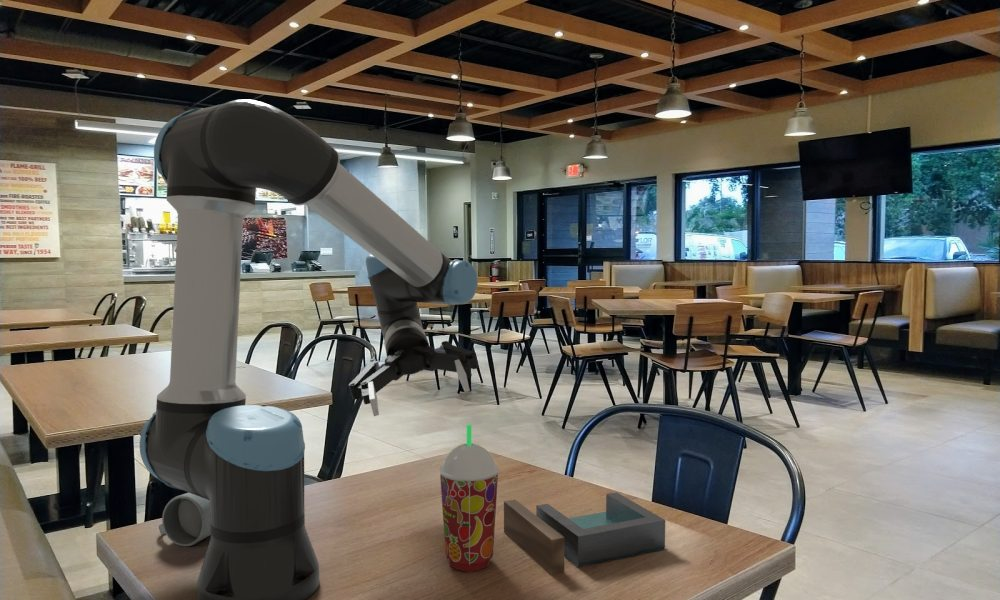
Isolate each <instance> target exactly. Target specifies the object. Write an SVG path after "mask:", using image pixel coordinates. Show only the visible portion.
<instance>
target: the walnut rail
mask: <svg viewBox="0 0 1000 600" xmlns="http://www.w3.org/2000/svg"><path fill="white" fill-rule="evenodd" d="M503 533H504V534H505V535H506V536H508V537H509V538H510V539H511V540H512V541H513V542H514V543H515V544H517V546H518V547H520V548H521V549H522V550H523V551H524V552H525V553H526V554H527V555H528V556H530V557H531V559H533V560H534V561H535V562H537V564H538V565H540V566H541V568H543V569H544V570H545V571H546V572H547V573H548V574H549V575H550V576H555V575H560V574H563V573H565V557H564V537H563V536H562V535H561V534H559V533H558V532H557V531H555V530H554V529H553V528H552V527H550V526H549V525H548V524H546V523H545V522H544V521H543V520H541V519H540V518H539V517H537V516H536V514H535V513H534V512H532V511H531V510H529V509H528V508H527V507H526V506H525V505H523V504H522V503H521V502H519V501H518V500H517V499H510V500H505V501H504V500H503Z"/></svg>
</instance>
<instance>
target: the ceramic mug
mask: <svg viewBox="0 0 1000 600" xmlns="http://www.w3.org/2000/svg"><path fill="white" fill-rule="evenodd" d="M161 518H162V519H161V522H162V523H161V524H159V525H158V529H159V533H160V535H161V536H164V535H166V537H167V538H168V539H169V540H170V542H172V543H173V544H176V545H177V546H180V547H191V546H194V545H195V544H197V543H199V542H201V541H202V540H205V539H206V538H208V537H210V536H211V531H210V501H209V500H208V499H205V498H202V497H199V496H197V495H194V494H191V493H189V492H187V493H186V492H185V493H183V494H180V495H177V496H175V497H173V498H171V499H170V500H169V501H168V503H167V504H166V505H165V507H164V509H163V511H162V517H161Z"/></svg>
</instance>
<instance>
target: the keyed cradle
mask: <svg viewBox="0 0 1000 600" xmlns="http://www.w3.org/2000/svg"><path fill="white" fill-rule="evenodd" d="M605 498H606V499H605V502H606V504H605V505H606V506H605V508H606V509H605V511H602V512H597V513H596V512H595V513H590V514H586V515H580V516H579V515H578V516H574V517H568V516H565V514H563V513H561V512H560V511H559V510H557V509H556V508H554V507H553V506H551V504H549V503H543V504H537V505H536V506H535V507H536V509H535V511H536V514H535V515H536V516H537V517H539V518H540V519H541V520H543V521H544V522H545V523H546V524H548V525H549V526H550V527H552V528H553V529H554V530H555V531H557V532H558V533H559V534H561V535H562V536H563V537H564V558H565V559H567V560H568V561H569V562H570V563H571V564H572V565H574V566H575V567H576V568H583V567H587V566H593V565H597V564H602V563H607V562H611V561H616V560H620V559H626V558H630V557H636V556H640V555H644V554H649V553H653V552H659V551H664V550H665V549H666V519H665V518H662V517H661V516H659V515H657V514H655V513H653V512H652V511H651V510H649V509H647V508H645V507H643V506H642V505H641V504H638V503H636V502H635V501H633V500H631V499H629V498H628V497H626V496H624V495H622V494H621V493H619V492H617V491H616V492H610V493H606V496H605Z"/></svg>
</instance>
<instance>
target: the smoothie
mask: <svg viewBox="0 0 1000 600" xmlns="http://www.w3.org/2000/svg"><path fill="white" fill-rule="evenodd" d="M438 470H439V475H440V476H439V477H440V491H441V492H440V493H441V506H442V521H443V535H444V536H443V537H444V538H443V539H444V553H445V558H447V560H448V562H449V566H450V567H452V568H453V569H454V570H458V571H462V572H468V573H469V572H478V571H481V570H483V569H485V568H487V567H488V565H490V564H489V563H490V560H491V558H493V556H494V546H495V542H494V541H495V529H496V527H495V526H496V513H497V511H496V510H497V495H498V494H497V493H498V480H499V472H500V469H499V467H498V465H496V462H495V460H494V458H493V456H492V455H491V453H490V452H489V451H488V450H487V449H486V448H485V447H483V446H481V445H479V444H476V443H472V425H471V424H467V425H466V443H463V444H462V443H461V444H460V445H458V446H456V447H454V448H452V449H451V450H450V452H449V453H448V454H447V456H446V458H444V461H443V463H442V465H441V466H440V468H439V469H438Z"/></svg>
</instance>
